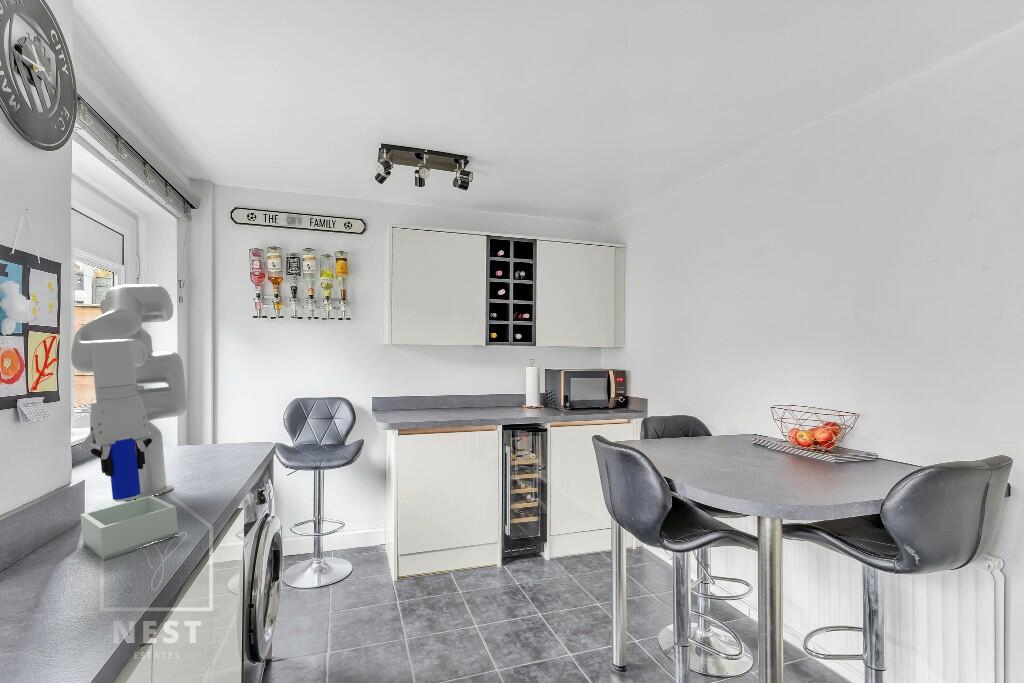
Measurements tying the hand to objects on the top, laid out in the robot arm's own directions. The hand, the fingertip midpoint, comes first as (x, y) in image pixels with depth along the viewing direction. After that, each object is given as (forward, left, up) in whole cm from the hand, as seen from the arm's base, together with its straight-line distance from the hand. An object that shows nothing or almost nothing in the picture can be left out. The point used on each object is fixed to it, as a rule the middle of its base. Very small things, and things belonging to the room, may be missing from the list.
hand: (124, 470), depth 117 cm
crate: (0, 0, -16) cm, 16 cm away
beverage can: (0, 0, -7) cm, 7 cm away
